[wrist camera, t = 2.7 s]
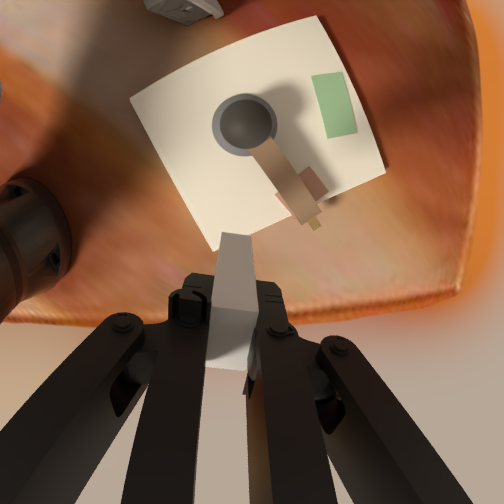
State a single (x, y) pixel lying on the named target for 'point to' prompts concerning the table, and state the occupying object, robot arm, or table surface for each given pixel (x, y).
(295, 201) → the peg
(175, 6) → the electrical switch
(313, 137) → the tuner plate
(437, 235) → the table surface
